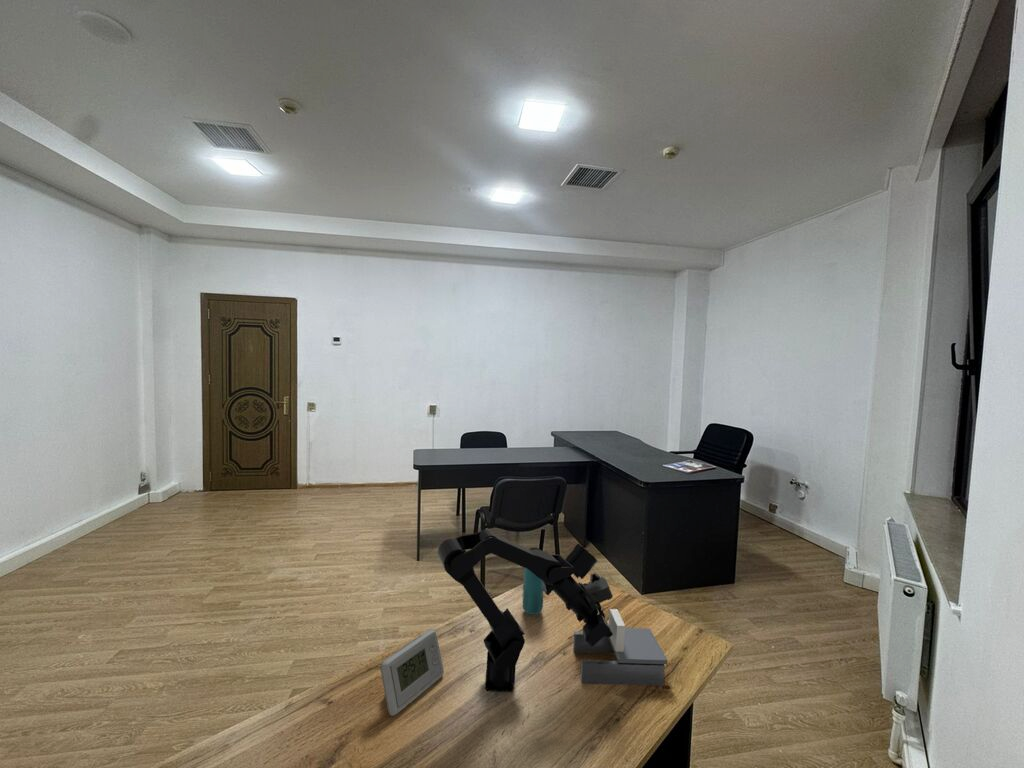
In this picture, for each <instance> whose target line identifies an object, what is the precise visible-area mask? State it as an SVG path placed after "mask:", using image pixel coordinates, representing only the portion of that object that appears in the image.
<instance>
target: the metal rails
mask: <svg viewBox="0 0 1024 768" xmlns="http://www.w3.org/2000/svg"><path fill="white" fill-rule="evenodd" d="M572 642H573V643H572V645H573V646H572V651H573V653H581V654H582V653H583V654H587V653H588V654H615V653H614V650H613V648H612V645H611V643H610V640H609V638H608V636H604V637H603V638H602V639H601V640H600V641H598V642H597V643H596V644H595V645H594V646H590V645H589V644H588V643H587V642H586V641H585V638H584V634H583V631H580V630H579V631H576V630H575V631H573V641H572ZM580 666H581V669H580V670H581V671H580V683H581V684H582V685H583V684H584V685H585V684H587V685H588V684H590V685H623V686H624V685H625V686H628V685H629V686H661V687H664V684H665V683H664V681H665V680H664V679H665V667H666V666H665V664H644V663H618V661H617V660H603V659H602V660H601V659H600V660H596V659H595V660H594V659H593V660H592V659H581V665H580Z"/></svg>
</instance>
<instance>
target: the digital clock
mask: <svg viewBox="0 0 1024 768" xmlns="http://www.w3.org/2000/svg"><path fill="white" fill-rule="evenodd" d="M439 645H440V644H439V641H438V635H437V632H436V629H435V628H430V629H428V630H427V631H425V632H423V633H422V634H420V635H419V634H418V636H417V637H415V638H414V639H412V640H411V641H409V642H407V643H406V644H404V645H403V646H402V647H401V648H399V649H397V650H396V651H394V653H393V654H391V655H390V656H388V657H386V658H385V659H384V660H382V662H381V663H380V673H381V678H382V684H383V691H384V695H385V696H384V697H385V702H386V706H387V707H386V708H387V711H388V714H389V716H391V717H394V716H396V715H398V714H399V713H400V712H401V711H402V710H403V709H406V708H407V707H408V706H409V705H410V704H411V703H413V702H414V701H415V700H416V699H417V698H419V697H420V696H421V695H422V694H423V693H424V692H426V691H427V690H428V689H430V687H432V686H433V685H434V683H436V682H437V681H438V680H439V679H440V678H442V676H444V672H445V670H444V665H443V659H442V654H441V649H440V646H439ZM412 701H413V702H412ZM409 703H410V704H409ZM408 704H409V705H408ZM407 705H408V706H407ZM406 706H407V707H406Z"/></svg>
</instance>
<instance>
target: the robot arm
mask: <svg viewBox="0 0 1024 768" xmlns="http://www.w3.org/2000/svg"><path fill="white" fill-rule="evenodd" d="M466 550H467V551H466ZM436 553H437V556H438V559H439V560H440V562H441V565H442V567H443V569H444V571H445V573H447V574H448V575H449V576H450V577H451V578H452V579H453V580H454V581H455V582H457V583H459V584H460V585H461V586H462V587H463V588H464V589H465V590H466V591H465V592H467V593H468V595H469V596H470V597H471V599H472V601H473V602H474V603H475V605H476V606H477V608H478V610H479V611H480V612H481V614H482V615H483V617H484V618H485V619H486V620H487V622H488V625H489V627H490V630H491V631H490V632H489V633H488V634H487V636H486V637H485V638H483V644H484V647H485V649H486V651H487V652H486V653H487V654H486V655H487V656H486V669H485V683H484V690H485V692H508V693H509V692H513V691H514V684H515V683H516V666H517V664H518V660H519V657H520V655H521V652H522V650H523V648H524V647H525V643H526V639H525V638H524V635H526V633H525V632H524V630H523V628H522V627H521V626H520V624H519V623H518V621H517V620H516V618H515V617H514V616H513V614H512V612H510V610H509V608H506V609H505V610H504V611H502V610H501V609H500V608H499V607H498V604H496V602H495V600H494V599H493V598H492V596H491V595H490V594H489V592H488V591H487V589H486V588H485V586H484V585H483V583H482V582H481V580H480V579H479V577H478V576H477V574H476V571H475V569H474V567H475V566H476V565H477V564H478V563H480V562H481V561H482V560H483V559H484V558H485V557H486V556H488V555H490V554H491V555H494V556H496V557H499V558H501V559H503V560H506V561H508V562H510V563H512V564H515V565H518V566H520V567H521V568H522V567H523V569H524V568H527V569H528V570H530V571H531V572H532V573H533V574H535V575H536V576H537V577H538V578H540V579H541V580H542V581H543V591H544V592H543V593H544V594H545V595H547V596H550V595H551V593H552V592H554V593H555V595H557V596H558V597H559V598H560V600H562V602H563V603H564V604H565V608H566V609H567V610H568V611H570V610H571V611H572V612H573V613H574V614H575V616H576V619H577V620H578V622H579V623H581V622H582V621H583V623H585V624H584V625H583V626H582V632H583V634H584V638H585V641H586V642H587V643H588V644H589V645H590V646H594V645H595V644H596V643H597V642H598V641H600V640H601V639H602V638H603V637H604V636H608V637H611V636H612V635H613V634H612V632H611V630H610V627H609V622H608V621H607V619H606V614H605V612H604V610H603V609H602V605H601V603H603V602H605V601H611V599H613V593H612V591H611V588H610V586H609V584H608V582H607V579H606V578H605V577H603V576H600V575H599V574H597V573H596V572H594V573H591V574H590V575H589V581H588V583H583V582H577V581H576V579H579V578H580V579H581V580H583V579H584V578H585V577H586V576H587V575H588V573H589V572H590V571H591V570H592V569H593V567H594V566H595V565H596V564H597V563H598V560H597V558H596V557H595V556H594V555H592V553H590V551H588V550H587V549H586V548H585V546H583V545H582V544H580V543H579V542H578V543H577V544H576V545H575V546H574V548H573V549H572V551H571V552H570V553H569V554H568V555H567V556H566V557H565V558H564V557H563V556H562V555H561V554H555V553H554V554H551V553H550V552H548V551H545V550H542V549H540V550H530V548H526V547H524V546H522V545H520V544H517V543H515V542H513V541H511V540H509V539H507V538H504V537H502V536H500V535H498V534H496V533H494V532H492V531H491V530H489V529H482V530H480V531H477V532H474V533H467V534H463V535H459V536H458V537H455V538H447V539H446V540H443V542H441V544H439V546H438V549H437V552H436ZM572 575H573V576H572ZM574 576H575V578H576V579H575V578H574Z"/></svg>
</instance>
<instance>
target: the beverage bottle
mask: <svg viewBox="0 0 1024 768" xmlns="http://www.w3.org/2000/svg"><path fill="white" fill-rule="evenodd" d="M529 549H530V550H541V549H540V548H539V547H530V548H529ZM544 593H545V592H544V591H543V581H542V580H541V579H540V578H538V577H537V576H536V575H535V574H533V573H532V572H531V571H530V570H528V569H527V568H524V567H523V582H522V599H521V600H522V609H523V611H524V612H526V613H528V614H531V615H536V614H540V613H541V612H542V611H543V608H544V597H545V596H544Z"/></svg>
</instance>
